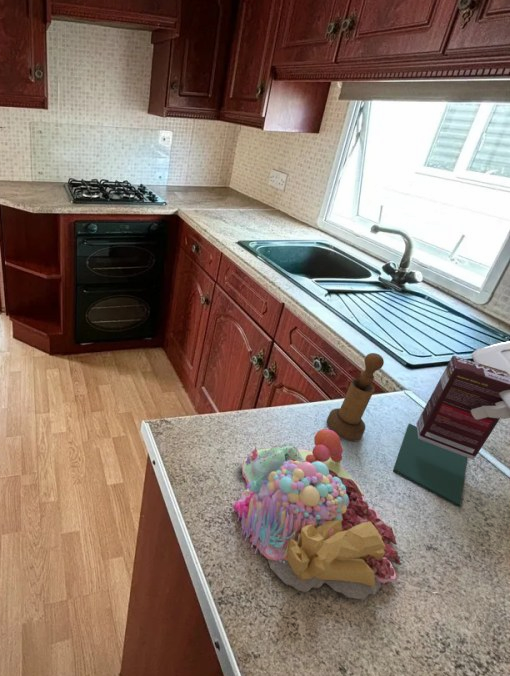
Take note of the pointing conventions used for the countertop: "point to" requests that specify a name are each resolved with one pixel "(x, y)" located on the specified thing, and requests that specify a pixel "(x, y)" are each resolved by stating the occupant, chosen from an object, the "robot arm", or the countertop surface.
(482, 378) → the supplement box
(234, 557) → the countertop surface
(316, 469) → the candy landscape model
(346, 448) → the countertop surface
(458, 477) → the rubber mat
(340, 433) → the mortar and pestle
